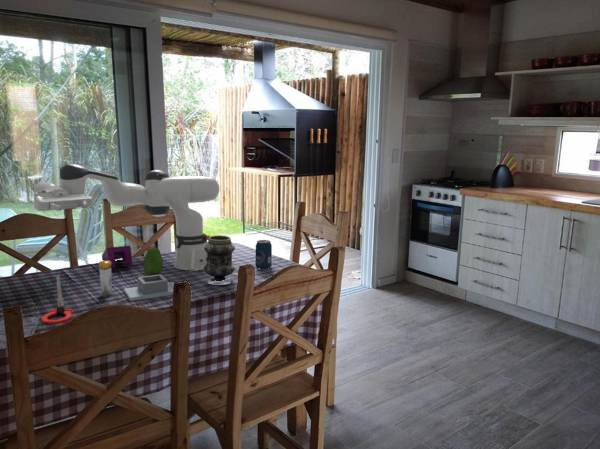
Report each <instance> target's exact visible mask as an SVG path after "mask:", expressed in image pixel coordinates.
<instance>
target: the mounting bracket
mask: <svg viewBox="0 0 600 449" xmlns="http://www.w3.org/2000/svg"><path fill="white" fill-rule="evenodd" d="M131 248H132V247H131V245H124V246H123V245H121V246H114V247H113V246H112V247H106V249H105V250H104V251H103V253H102V254H101V259H102V260H101V261H111V270H114V269H115V267H116V262H115V261H116V260H122V265H123V267H124V268H132V266H133V254H132V249H131Z"/></svg>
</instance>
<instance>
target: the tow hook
mask: <svg viewBox="0 0 600 449" xmlns="http://www.w3.org/2000/svg"><path fill="white" fill-rule="evenodd" d="M61 283H62V282H61V277H60V274H59V275H56V290H57V291H56V292H57V306H56V309H50V310H49V312H47V313H45V314H44V315H43V316H42V317H41V322H42V323H43V324H46V323H47V325H55V324H54V323H57V324H61V323H65V322H67V321H69V320H70V319H71V318H72V316H73V312H74V309H73V308H66V305H65V304H64V298H63V293H62V292H63V291H62V284H61ZM56 315H63V316H64V317H61V318H59V319H49V318H50V317H51V318H52V317H54V316H56Z"/></svg>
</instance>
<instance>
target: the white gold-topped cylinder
mask: <svg viewBox="0 0 600 449" xmlns="http://www.w3.org/2000/svg"><path fill="white" fill-rule="evenodd" d="M98 269H99V283H100V296H101V297H110V296H112V295H113V280H112V278H113V277H112V269H111V261H103V260H101V261H99V262H98Z"/></svg>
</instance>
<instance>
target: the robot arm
mask: <svg viewBox="0 0 600 449" xmlns="http://www.w3.org/2000/svg"><path fill="white" fill-rule="evenodd" d="M87 179H92V180H95V181H99V182H100V183H101V186H102V188H103V193H104V194H103V195H104V196H105V199H106V201H107V202H109V204H111V205H113V206H114V207H132V206H133V207H134V206H138V205H143V206H144V207H142V210H145V212H146V213H147V214H148V215H150V216H152V217H156V218H159V217H164V216H166V215H168V214H169V213H170V210H172V212H173V214H174V218H175V226H176V234H175V239H174V240H175V249H176V251H175V252H176V253H175V260H174V263H173V268H175V269H178V270H182V271H193V272H199V271H198V270H201V271H203V270H202V269H204V266H205V264H206V263H207V252H206V251H205V250H204V246H205V244H206V243H207V242H208V240H209V237H210V236H211V235H209V234H206V233H204V221H203V220H204V219H203V216H202V214H201V213H200V212H198V211H196V210H194V209H192V208H190V207H189V204H192V203H194V204H195V203H204V202H210V201H213V200H216V199H217V197H218V196H219V193H220V185H219V182H218V181H217V180H216V178H215V177H211V176H204V175H197V176H196V175H190V176H186V175H185V176H170V175H169V174H168V173H167V172H166V171H163V170H160V169H153V170H150V171H148V172H146V174H145V178H144V180H145V186H143V185H142V184H138V183H134V182H123V181H120V180H119V177H118V176H117V175H114V174H111V173H108V172H105V171H100V170H97V169H92V168H88V167H84V166H82V165H79V164H76V163H65V165H63V166H61V167H60V169H59V186H58V184H57V185H56V184H55V183H52V182H49V181H40V182H38V183H37V184H35V186H34V189H33V194H34V195H33V203H34V204H33V205H34V209H35V210H36V211H38V212H46V211H56V212H57V211H59V212H60V211H63V210H75V209H78V208H81V209H87V208H88V207H92V206H93V197H92V196H90V195H86V194H85V188H86V181H87Z"/></svg>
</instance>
